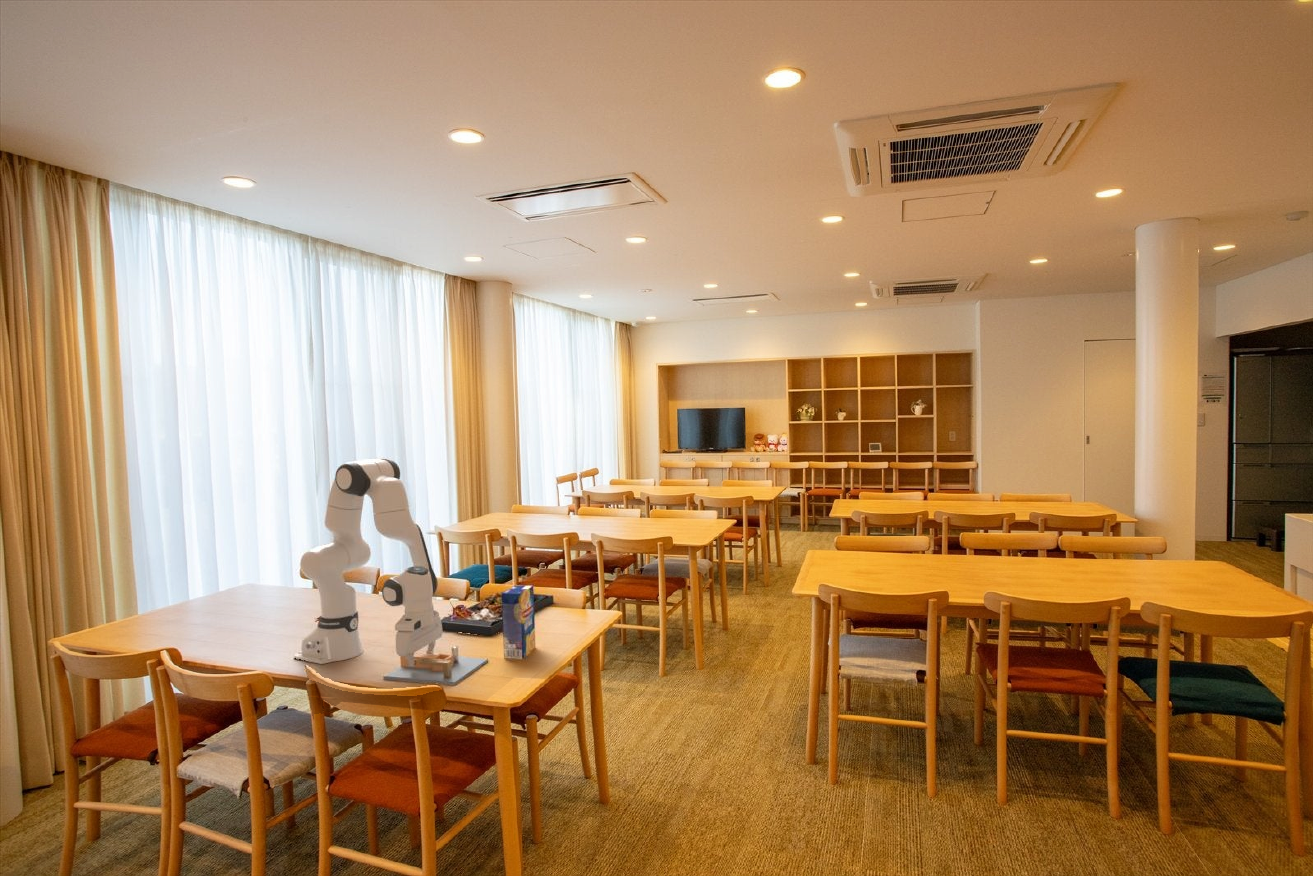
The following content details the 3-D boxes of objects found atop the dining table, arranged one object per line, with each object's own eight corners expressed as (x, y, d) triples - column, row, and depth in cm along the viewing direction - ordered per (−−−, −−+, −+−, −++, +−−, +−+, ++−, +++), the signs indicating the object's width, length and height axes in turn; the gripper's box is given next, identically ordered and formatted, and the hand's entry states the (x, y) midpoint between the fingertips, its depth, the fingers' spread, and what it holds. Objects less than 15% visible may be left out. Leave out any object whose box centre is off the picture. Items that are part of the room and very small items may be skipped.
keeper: (420, 676, 211) (419, 661, 211) (424, 674, 213) (423, 658, 213) (448, 678, 208) (447, 663, 208) (451, 676, 210) (451, 660, 210)
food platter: (492, 639, 250) (491, 611, 250) (437, 633, 259) (436, 606, 259) (553, 605, 292) (552, 581, 292) (504, 601, 301) (503, 578, 301)
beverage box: (535, 648, 236) (533, 585, 236) (523, 660, 226) (520, 594, 225) (517, 648, 238) (514, 585, 237) (503, 659, 227) (501, 593, 226)
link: (398, 667, 219) (398, 656, 219) (408, 661, 224) (408, 651, 224) (445, 671, 215) (444, 660, 215) (454, 665, 220) (453, 654, 220)
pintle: (451, 663, 222) (450, 648, 222) (454, 661, 224) (453, 646, 224) (456, 663, 221) (455, 648, 221) (459, 661, 223) (459, 646, 223)
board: (383, 679, 212) (383, 676, 212) (421, 656, 232) (421, 653, 232) (454, 685, 206) (454, 682, 206) (488, 661, 225) (488, 658, 225)
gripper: (429, 608, 231) (431, 649, 231) (391, 627, 211) (393, 671, 211) (446, 609, 229) (448, 650, 229) (408, 628, 209) (411, 672, 210)
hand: (421, 660), depth 220 cm, fingers open, 8 cm apart
